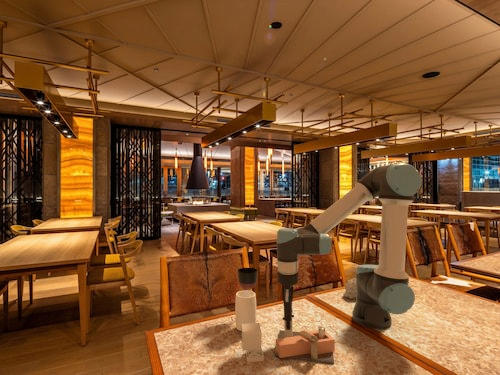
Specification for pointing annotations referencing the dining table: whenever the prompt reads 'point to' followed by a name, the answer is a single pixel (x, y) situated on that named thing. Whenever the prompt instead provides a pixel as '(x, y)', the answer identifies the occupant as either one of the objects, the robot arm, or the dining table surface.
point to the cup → (245, 308)
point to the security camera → (252, 341)
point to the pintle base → (313, 339)
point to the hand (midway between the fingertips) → (288, 336)
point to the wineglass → (247, 278)
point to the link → (303, 345)
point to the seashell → (351, 289)
